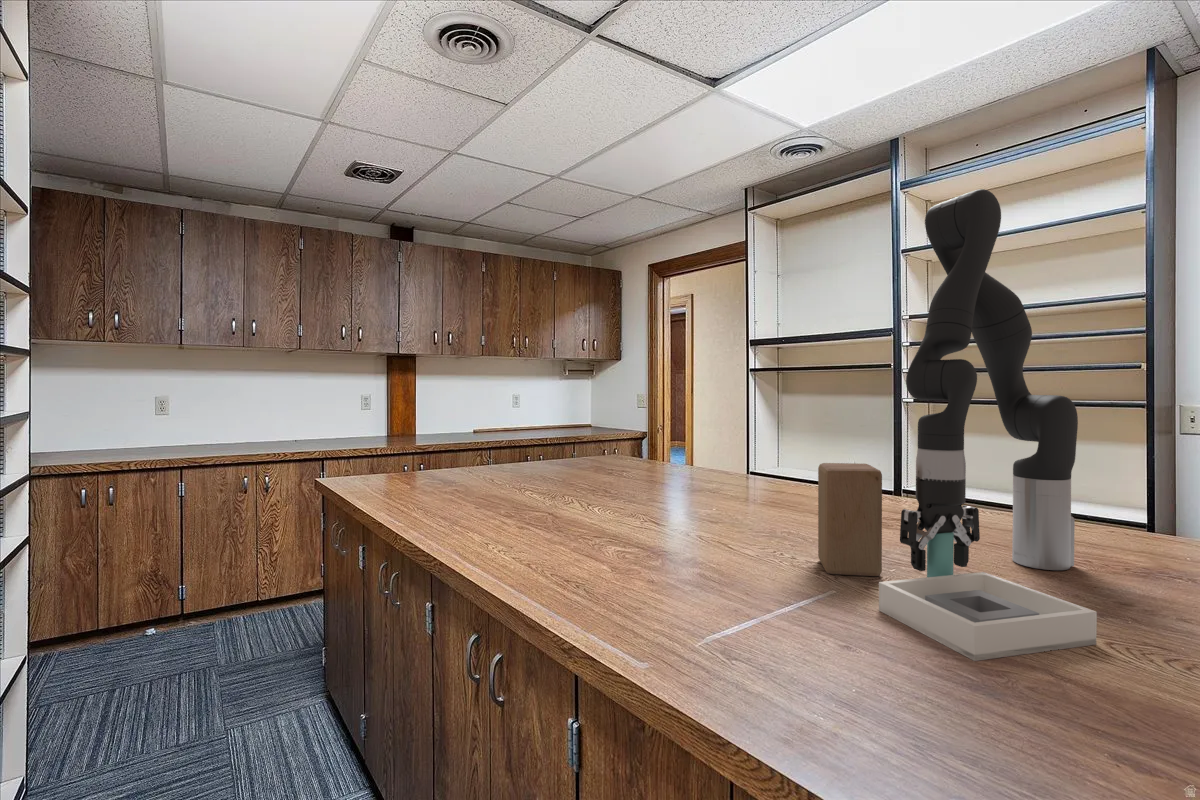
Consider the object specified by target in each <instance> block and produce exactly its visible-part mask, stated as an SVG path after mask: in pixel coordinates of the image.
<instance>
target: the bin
mask: <svg viewBox="0 0 1200 800" xmlns="http://www.w3.org/2000/svg"><path fill="white" fill-rule="evenodd" d="M878 611H879V612H881V613H883V614H885V615H887V616H889V617H891V618H893V619H894V620H895V621H898V622H900V623H902V624H904V625H905V626H907V627H909V628H911V629H913V630H915V631H916V632H918V633H921V634H922V635H924V636H926V637H928V638H930V639H932V640H934V641H935V642H938V643H939V644H941V645H944V646H945V647H947V648H949V649H950V650H952V651H954V652H957V653H958V654H960V655H962V656H963V657H966V658H968V659H970V660H971V661H973V662H977V661H978V662H979V661H984V660H985V661H986V660H991V659H999V658H1006V657H1007V658H1008V657H1014V656H1022V655H1028V654H1037V653H1043V652H1044V651H1045V652H1051V651H1050V650H1052V651H1059V650H1065V649H1072V648H1080V647H1088V646H1095V645H1097V621H1098V620H1097V614H1098V613H1097V612H1098V611H1096V610H1093V609H1090V608H1087V607H1085V606H1082V605H1078V604H1076V603H1072V602H1070V601H1067V600H1065V599H1061V598H1059V597H1055V596H1054V595H1051V594H1047V593H1044V592H1042V591H1038V590H1036V589H1033V588H1030V587H1027V586H1024V585H1021V584H1019V583H1017V582H1014V581H1010V580H1008V579H1005V578H1001V577H999V576H997V575H996V576H995V575H993V574H991V573H987V572H984V571H981V572H971V573H970V572H969V573H962V574H961V573H959V574H953V575H948V576H937V577H927V576H926V577H918V578H917V577H916V578H907V579H896V580H887V581H879V582H878ZM1058 649H1059V650H1058Z"/></svg>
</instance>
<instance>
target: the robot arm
mask: <svg viewBox="0 0 1200 800" xmlns="http://www.w3.org/2000/svg"><path fill="white" fill-rule="evenodd" d="M1001 222H1002V209H1001V205H1000V203H999V200H998V198H997V197H996V195H994V194H993V192H991V191H989V190H988V189H983V188H981V189H975V190H971V191H969V192H967V193H963V194H961V195H958V196H956V197H952V198H951V199H948V200H945V201H941V202H940V203H938V204H934V205H933V206H931V207H930V208H929V209H928V210H927V211H926V214H925V217H924V226H925V232H926V235H927V238H928V240H929V243H930V245H931V247H932V249H933V251H934V253H935V254H936V256H937V259H938V260H939V263H940V264H941V266H942V267H943V269H944V271H945V273H946V275H947V276H946V277H945V278H944V279H943V281H942V283H941V284H940V286H939V287H938V289H937V290H936V292H935V293H934V295H933V297H932V300H931V301H930V306H929V308H928V309H929V310H928V312H927V313H928V314H927V321H926V326H925V331H924V332H925V333H924V336H923V338H922V341H921V343H920V345H919V348H918V350H917V351H916V354H915V355H914V357H913V359H912V362H911V363H910V364H909V367H908V370H907V372H906V376H905V385H906V389H907V392H908V394H909V395H910V396H911V397H912V398H913V399H915V400H919V401H948V402H947V405H946V407H945V408H944V410H943V411H941V412H936V413H930V414H925V415H922V416H920V417H919V418H918V422H917V451H916V456H915V457H916V458H915V499H916V500H917V503H918V506H917V509H916V510H911V509H906V508H903V509H902V510H901V514H900V531H899V542H900V543H901V544H903V545H907V546H908V547H909V548H910V565H911V566H912V568H913V569H914V570H917V571H919V572H924V571H926V570H927V549H925V548H926V547H927V543H928V541H929V540H932V539H933V538H934V536H935V535H936V534H939V533H952V532H953V533H954V542H955V543H954V552H953V565H955V566H958V567H960V568H966V567H967V566H968V563H969V560H970V559H969V555H970V553H969V552H970V551H969V550H970V546H971V544H972V543H974V542H976V543H977V542H979V541H980V538H981V534H980V517H979V516H980V515H979V510H980V509H979V508H978V507H974V506H971V505H966V504H965V503H966V492H967V491H966V488H967V487H966V485H967V484H966V483H967V482H966V479H967V477H966V472H967V470H966V467H967V465H966V463H967V461H966V456H965V455H966V454H965V426H966V425H965V424H966V420H967V415H968V411H969V408H970V406H971V402H972V399H973V397H974V394H975V390H976V388H977V384H978V373H977V370H976V368H975V366H974V365H973V364H972V363H971V362H970V361H969V360H966V359H962V358H955V359H953V358H952V359H951V358H950V359H942V358H943V357H945V356H947V355H950V354H954V353H957V352H961V351H963V350H965V349H967V347H968V346H969V344H970V342H971V339H972V338H971V337H973V340H974V341H975V344H976V346H977V348H978V350H979V353H980V356H981V358H982V359H983V360H982V361H983V363H984V366H985V368H986V371H987V373H988V377H989V380H990V382H991V386H992V388H993V392H994V396H995V397H994V398H995V400H996V404H997V407H998V411H999V414H1000V418H1001V421H1002V424H1003V426H1004V429H1005V430H1006V431H1007V433H1008V434H1009V435H1010V436H1011V437H1013V438H1014V439H1016V440H1019V441H1024V442H1025V441H1027V442H1037V443H1038V445H1037V449H1036V452H1035V453H1034V454H1032V455H1030V456H1027V457H1024V458H1021V459H1017V460H1015V461H1014V462H1013V465H1012V541H1011V542H1012V548H1011V549H1012V551H1011V552H1012V553H1011V554H1012V556H1011V558H1012V561H1013V562H1014V563H1016V564H1018V565H1021V566H1023V567H1028V568H1033V569H1039V570H1046V571H1047V570H1048V571H1049V570H1050V571H1066V570H1070V569H1071V567H1075V528H1076V527H1075V524H1076V522H1075V517H1073V516H1072V471H1073V468H1074V465H1075V462H1076V457H1077V454H1076V453H1077V441H1078V440H1077V439H1078V438H1077V437H1078V429H1079V428H1078V427H1079V426H1078V425H1079V421H1078V420H1079V419H1078V411H1077V408H1076V405H1075V403H1074V401H1073V400H1072V399H1070V398H1069V397H1068V396H1064V395H1058V394H1057V395H1053V394H1052V395H1051V394H1049V395H1047V394H1032V393H1031V392H1030V390H1029V389H1028V386H1027V384H1026V380H1025V378H1024V377H1025V376H1024V372H1023V370H1024V363H1025V360H1026V358H1027V354H1028V353H1029V352H1028V351H1029V349H1030V346H1031V343H1032V337H1033V331H1032V326H1031V323H1030V320H1029V318H1028V315H1027V313H1026V312H1027V311H1026V310H1025V307H1024V305H1023V303H1022V300H1021V299H1020V298H1019V296H1018V295H1017V294H1016V293H1015V292H1014V291H1012V290H1011V288H1008V286H1006V285H1004V284H1003V283H1001V281H999V280H997V279H996V278H994V277H993V276H991V275H990V274H989V273H988V272H986V270H987V268H988V265H989V262H990V259H991V256H992V253H993V251H994V247H995V245H996V241H997V238H998V236H999V231H1000V228H1001V224H1002V223H1001ZM924 529H925V530H924Z"/></svg>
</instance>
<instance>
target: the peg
mask: <svg viewBox="0 0 1200 800" xmlns="http://www.w3.org/2000/svg"><path fill="white" fill-rule="evenodd" d="M954 542H955V541H954V533H953V532H952V533H939V534H936V535H935V536H934V538H933V539H932V540H929V541H928V543H927V545H926V578H927V577H937V576H948V575H954Z"/></svg>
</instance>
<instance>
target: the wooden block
mask: <svg viewBox="0 0 1200 800" xmlns="http://www.w3.org/2000/svg"><path fill="white" fill-rule="evenodd" d="M817 470H818V471H817V472H818V473H817V476H818V477H817V483H818V484H817V485H818V486H817V488H818V489H817V490H818V491H817V494H818V495H817V499H818V500H817V501H818V503H817V504H818V508H817V512H818V513H817V516H818V517H817V518H818V519H817V521H818V522H817V525H818V527H817V531H818V534H817V535H818V536H817V540H818V541H817V543H818V545H817V549H818V552H817V557H818V560H819V561H820V563H821V565H822V567H823V569H824V570H825V572H826V573H827V574H830V575H838V576H839V575H841V576H861V577H863V576H864V577H878V576H881V574H882V571H883V561H882V560H883V559H882V558H883V504H882V503H883V474H882V471H881V470H880V469H878V468H876V467H874V466H872V465H870V464H869V463H857V462H856V463H851V462H850V463H849V462H848V463H847V462H846V463H845V462H844V463H843V462H841V463H840V462H823V463H819V466H818V468H817Z"/></svg>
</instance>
